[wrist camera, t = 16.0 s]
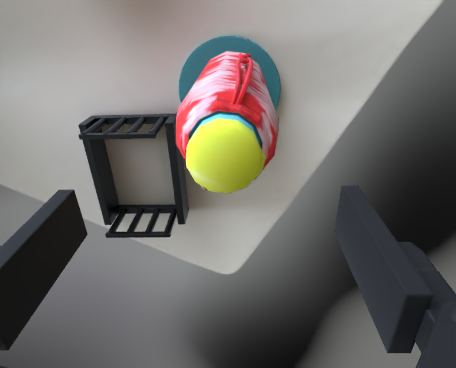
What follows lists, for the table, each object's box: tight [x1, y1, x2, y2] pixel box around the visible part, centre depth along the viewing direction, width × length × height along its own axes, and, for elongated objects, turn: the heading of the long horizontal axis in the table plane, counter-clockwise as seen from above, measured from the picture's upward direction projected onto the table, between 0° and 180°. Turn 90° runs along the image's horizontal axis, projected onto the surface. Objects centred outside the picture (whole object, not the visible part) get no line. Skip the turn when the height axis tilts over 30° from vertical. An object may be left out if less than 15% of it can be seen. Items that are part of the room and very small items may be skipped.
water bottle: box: [176, 51, 279, 193], centre depth 29 cm, size 12×8×25 cm, turn 159°
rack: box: [79, 114, 189, 238], centre depth 43 cm, size 12×15×7 cm
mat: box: [179, 36, 280, 110], centre depth 40 cm, size 13×13×1 cm
